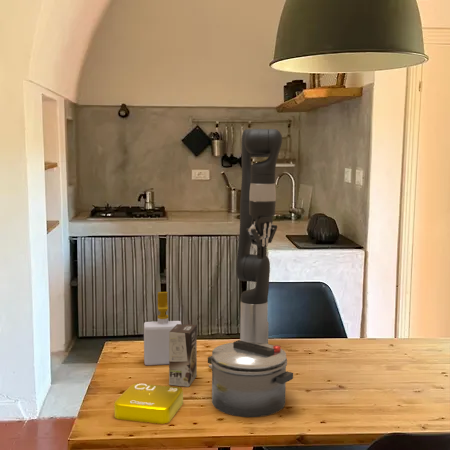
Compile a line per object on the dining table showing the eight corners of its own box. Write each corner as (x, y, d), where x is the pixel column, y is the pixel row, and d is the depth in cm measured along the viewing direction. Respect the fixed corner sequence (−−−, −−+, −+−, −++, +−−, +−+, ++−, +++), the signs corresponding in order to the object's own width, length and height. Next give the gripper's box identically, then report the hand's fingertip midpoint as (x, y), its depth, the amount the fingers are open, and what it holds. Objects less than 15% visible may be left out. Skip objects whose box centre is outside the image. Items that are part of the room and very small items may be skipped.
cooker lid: (241, 341, 178) (241, 332, 178) (300, 356, 166) (300, 346, 165) (197, 358, 162) (197, 347, 162) (258, 375, 150) (258, 364, 150)
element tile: (111, 420, 154) (111, 402, 154) (133, 397, 169) (133, 380, 168) (167, 426, 151) (167, 407, 150) (184, 402, 165) (184, 385, 165)
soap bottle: (144, 366, 192) (143, 293, 189) (144, 359, 198) (143, 289, 196) (182, 364, 194) (182, 292, 191) (181, 357, 200) (181, 288, 198)
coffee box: (189, 387, 175) (189, 333, 173) (168, 385, 176) (168, 331, 174) (197, 375, 184) (197, 324, 182) (177, 374, 185) (177, 322, 183)
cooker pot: (237, 378, 182) (237, 339, 181) (309, 399, 167) (310, 357, 165) (189, 401, 165) (189, 358, 164) (264, 427, 150) (265, 380, 148)
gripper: (264, 197, 181) (263, 254, 183) (238, 199, 171) (237, 260, 173) (286, 198, 176) (284, 257, 178) (260, 201, 166) (259, 263, 168)
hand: (261, 258), depth 176 cm, fingers closed
